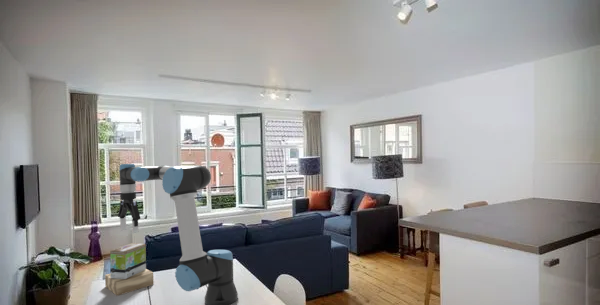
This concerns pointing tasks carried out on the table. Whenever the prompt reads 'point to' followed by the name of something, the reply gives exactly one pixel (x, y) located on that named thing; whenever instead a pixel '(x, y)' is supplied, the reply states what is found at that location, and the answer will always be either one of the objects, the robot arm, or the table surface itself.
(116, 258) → the tea box
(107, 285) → the oak block
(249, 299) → the table surface
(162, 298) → the table surface
